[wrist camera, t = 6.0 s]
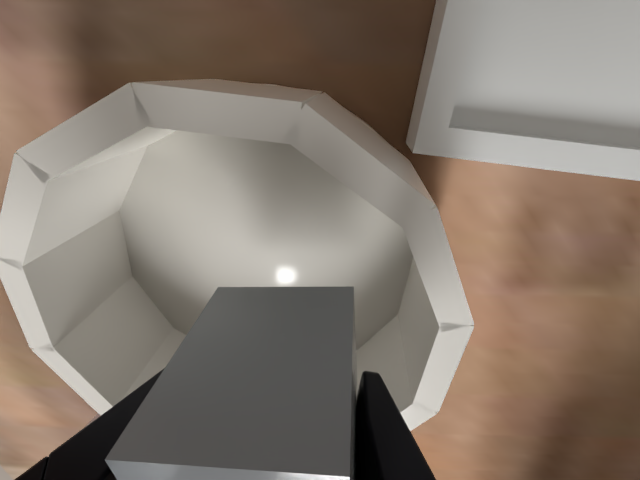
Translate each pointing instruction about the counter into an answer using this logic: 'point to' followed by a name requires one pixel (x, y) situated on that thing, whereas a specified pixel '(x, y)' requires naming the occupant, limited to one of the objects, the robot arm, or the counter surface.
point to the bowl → (223, 233)
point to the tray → (532, 85)
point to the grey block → (252, 393)
